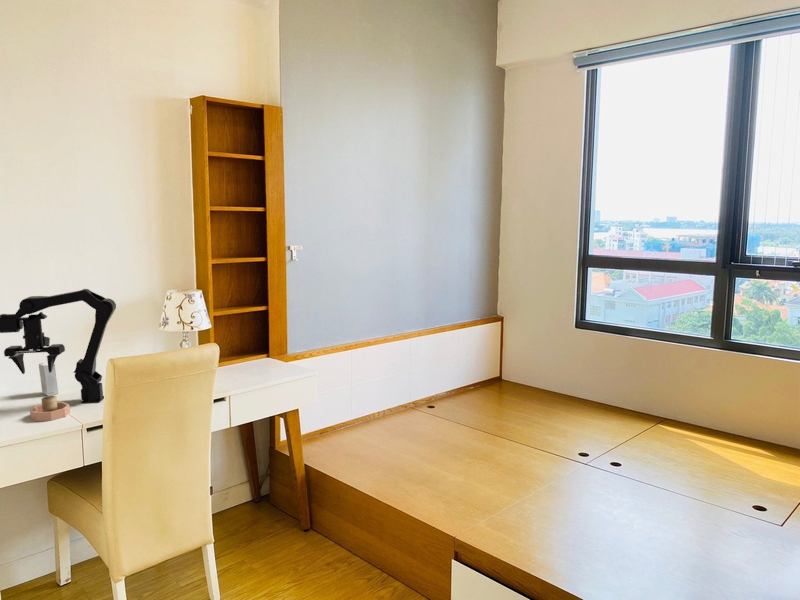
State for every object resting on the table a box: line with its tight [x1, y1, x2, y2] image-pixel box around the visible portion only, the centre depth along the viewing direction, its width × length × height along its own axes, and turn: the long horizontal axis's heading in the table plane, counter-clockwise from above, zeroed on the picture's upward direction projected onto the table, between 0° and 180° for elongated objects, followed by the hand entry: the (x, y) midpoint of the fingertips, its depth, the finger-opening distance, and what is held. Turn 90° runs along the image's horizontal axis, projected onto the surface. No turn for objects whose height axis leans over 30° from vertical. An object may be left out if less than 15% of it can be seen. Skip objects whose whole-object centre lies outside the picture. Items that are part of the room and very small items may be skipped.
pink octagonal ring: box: [29, 401, 71, 422], centre depth 220 cm, size 11×11×3 cm
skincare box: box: [38, 361, 59, 397], centre depth 246 cm, size 6×4×12 cm
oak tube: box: [41, 395, 58, 412], centre depth 220 cm, size 5×5×7 cm
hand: (37, 373), depth 231 cm, fingers open, 9 cm apart
